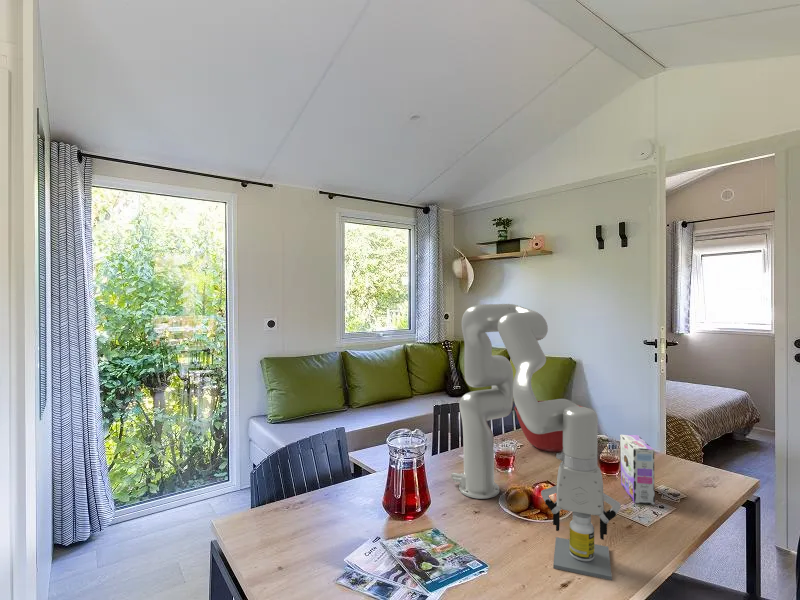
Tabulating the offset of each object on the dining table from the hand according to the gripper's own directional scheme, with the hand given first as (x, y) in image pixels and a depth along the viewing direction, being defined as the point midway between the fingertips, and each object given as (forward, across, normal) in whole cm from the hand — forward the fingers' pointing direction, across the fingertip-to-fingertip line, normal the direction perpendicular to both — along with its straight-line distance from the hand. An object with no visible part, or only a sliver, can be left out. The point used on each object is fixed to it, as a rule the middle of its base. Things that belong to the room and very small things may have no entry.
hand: (579, 532), depth 103 cm
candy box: (+7, +16, +40) cm, 44 cm away
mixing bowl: (+7, -10, +76) cm, 77 cm away
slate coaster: (+6, 0, 0) cm, 6 cm away
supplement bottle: (+5, +1, 0) cm, 5 cm away
